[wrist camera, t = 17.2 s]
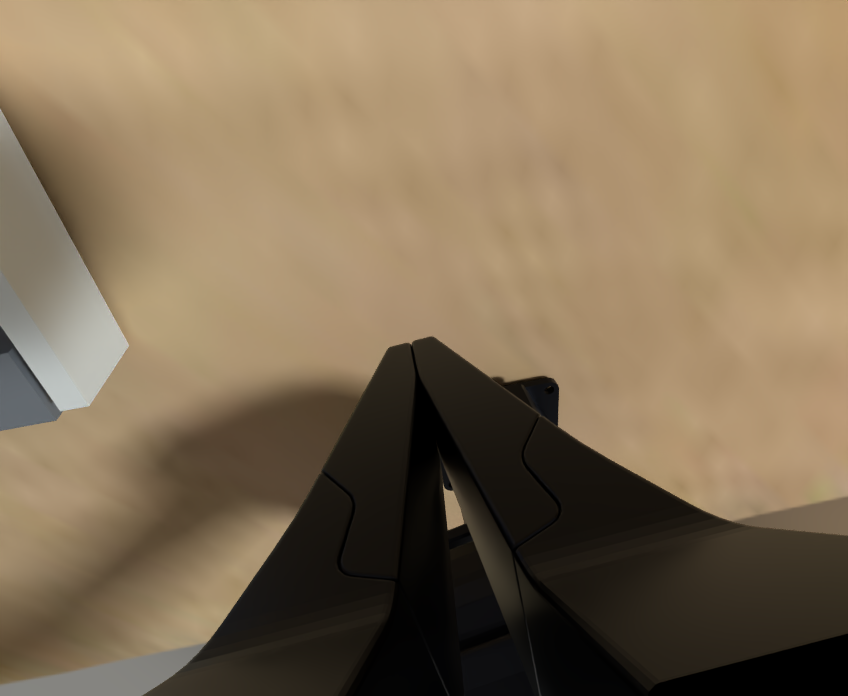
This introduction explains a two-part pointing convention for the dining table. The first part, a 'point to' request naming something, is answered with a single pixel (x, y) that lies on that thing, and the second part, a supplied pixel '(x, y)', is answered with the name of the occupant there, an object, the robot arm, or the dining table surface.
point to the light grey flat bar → (50, 289)
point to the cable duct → (21, 391)
